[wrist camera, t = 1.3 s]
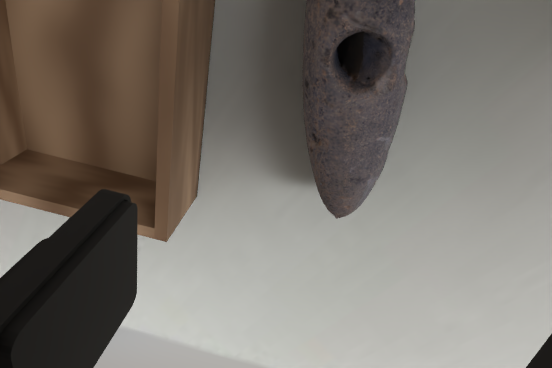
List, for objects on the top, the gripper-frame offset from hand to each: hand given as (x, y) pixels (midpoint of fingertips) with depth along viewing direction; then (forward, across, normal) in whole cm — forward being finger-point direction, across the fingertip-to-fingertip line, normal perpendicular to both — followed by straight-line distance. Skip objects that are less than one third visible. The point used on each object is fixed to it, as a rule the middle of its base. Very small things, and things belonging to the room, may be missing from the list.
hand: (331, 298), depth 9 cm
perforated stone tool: (+18, 0, 0) cm, 18 cm away
